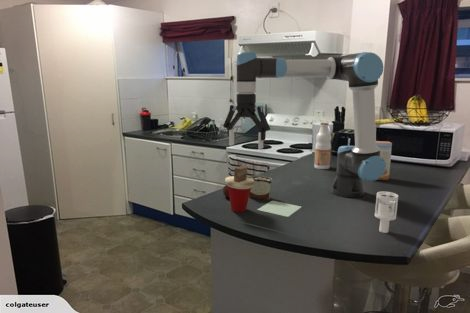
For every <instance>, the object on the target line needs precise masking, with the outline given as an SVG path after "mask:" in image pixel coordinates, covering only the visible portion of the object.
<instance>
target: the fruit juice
mask: <svg viewBox="0 0 470 313" xmlns="http://www.w3.org/2000/svg"><path fill="white" fill-rule="evenodd" d="M329 126H330V125H329V122H320V128H319V131H318V133H316V137H315V140H316V143H315V147H314V149H315V150H314V166H313V168H315V169H318V170H328V169H330V166H331V151H332V144H331V141H332V134H331V133H330V130H329Z"/></svg>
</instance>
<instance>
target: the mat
mask: <svg viewBox="0 0 470 313" xmlns="http://www.w3.org/2000/svg"><path fill="white" fill-rule="evenodd" d="M301 208H302V206H299V205H295V204H291V203H290V204H289V203H285V202H281V201H276V200H271V201H269V202H267V203H265V204H264V205H262V206H261V207H259V208H257V209H256V210H257V211H261V212H265V213H270V214H273V215H278V216H282V217H287V218H289V217H291V215H293V214H294V213H295V212H297V211H299V210H300V209H301Z"/></svg>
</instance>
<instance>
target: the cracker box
mask: <svg viewBox="0 0 470 313" xmlns="http://www.w3.org/2000/svg"><path fill="white" fill-rule="evenodd" d="M376 146H378V147H379V148H380V157H382V158H383V159H384V160H385V163H386V169H385V172H384V174H383V175H382V176H381V177H380V178H379V179H377V180H379V181H380V180H381V181H389V179H390V171H391V159H392V150H393V149H392V146H393V142H390V141H388V140H387V141H385V140H384V141H383V140H382V141H380V140H376ZM377 180H376V181H377Z"/></svg>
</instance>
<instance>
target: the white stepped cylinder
mask: <svg viewBox="0 0 470 313" xmlns="http://www.w3.org/2000/svg"><path fill="white" fill-rule="evenodd" d="M398 202H399V194H397V193H395V192H392V191H377V192H376V199H375V209H374V217H375V218H377V219H379V220H380V221H379V229H378V230H379V231H378V232H380V233H384V234H388V233H389V230H390V221H395V220H396V219H397V212H398Z"/></svg>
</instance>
